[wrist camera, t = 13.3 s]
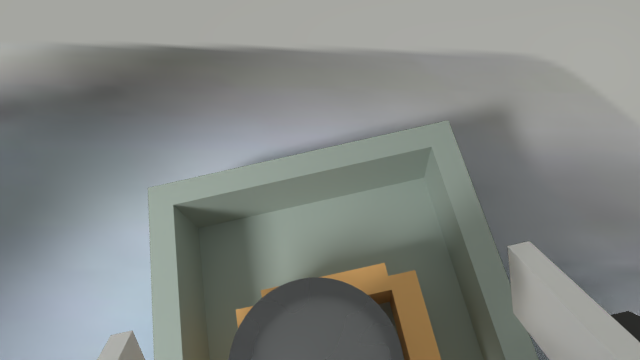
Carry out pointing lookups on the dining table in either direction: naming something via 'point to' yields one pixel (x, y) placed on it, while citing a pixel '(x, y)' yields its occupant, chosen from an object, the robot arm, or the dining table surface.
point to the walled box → (335, 247)
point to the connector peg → (316, 325)
